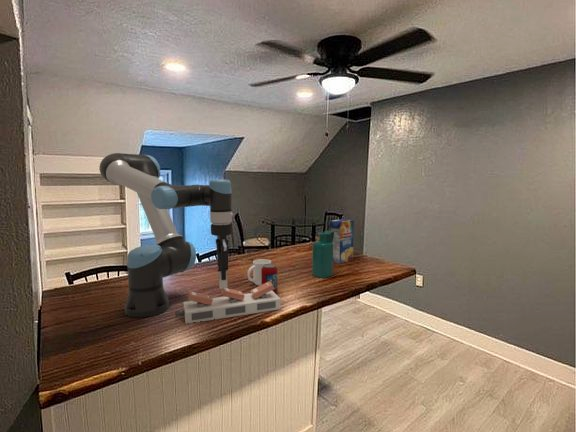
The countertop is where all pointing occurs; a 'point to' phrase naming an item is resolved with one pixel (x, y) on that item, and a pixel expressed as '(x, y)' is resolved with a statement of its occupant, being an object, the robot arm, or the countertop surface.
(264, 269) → the beverage can
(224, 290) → the rocker
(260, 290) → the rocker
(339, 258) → the juice carton
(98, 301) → the countertop surface
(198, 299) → the block
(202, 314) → the power strip
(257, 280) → the mug
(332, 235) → the green bottle
